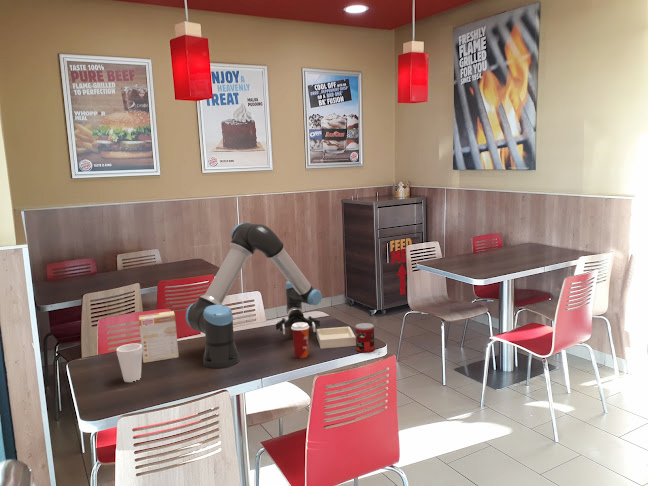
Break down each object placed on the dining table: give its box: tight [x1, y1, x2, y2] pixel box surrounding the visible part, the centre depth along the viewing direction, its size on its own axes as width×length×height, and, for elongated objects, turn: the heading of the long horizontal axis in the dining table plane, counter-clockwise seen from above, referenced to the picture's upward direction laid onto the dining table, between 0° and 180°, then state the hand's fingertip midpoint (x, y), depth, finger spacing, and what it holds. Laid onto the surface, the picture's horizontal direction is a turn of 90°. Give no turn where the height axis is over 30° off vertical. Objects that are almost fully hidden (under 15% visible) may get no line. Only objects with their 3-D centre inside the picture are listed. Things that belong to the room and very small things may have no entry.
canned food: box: [355, 322, 375, 354], centre depth 230 cm, size 8×8×11 cm
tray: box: [315, 326, 356, 350], centre depth 243 cm, size 16×16×4 cm
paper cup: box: [290, 322, 310, 359], centre depth 225 cm, size 8×8×14 cm
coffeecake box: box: [138, 310, 180, 363], centre depth 230 cm, size 15×7×20 cm, turn 110°
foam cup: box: [115, 342, 143, 383], centre depth 208 cm, size 10×9×13 cm
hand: (299, 330), depth 234 cm, fingers open, 13 cm apart
